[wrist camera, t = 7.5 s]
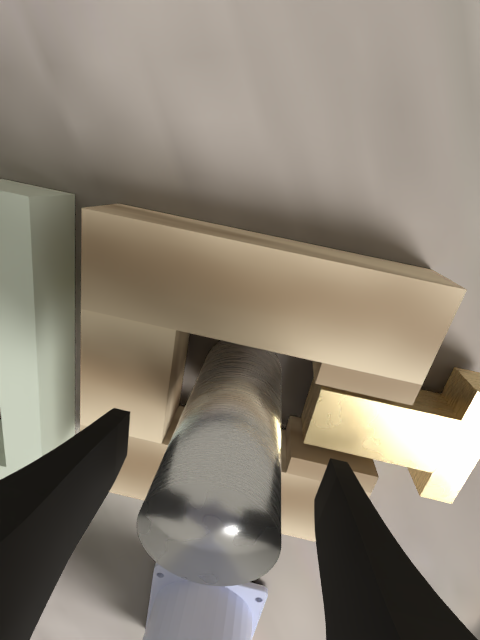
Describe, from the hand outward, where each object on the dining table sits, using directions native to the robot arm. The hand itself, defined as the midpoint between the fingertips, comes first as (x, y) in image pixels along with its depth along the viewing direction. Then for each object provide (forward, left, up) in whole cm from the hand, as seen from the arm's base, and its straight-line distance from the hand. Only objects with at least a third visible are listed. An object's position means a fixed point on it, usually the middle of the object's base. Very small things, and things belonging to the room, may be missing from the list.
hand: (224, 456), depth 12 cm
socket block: (0, 0, -6) cm, 6 cm away
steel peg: (0, 0, -6) cm, 6 cm away
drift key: (0, -7, -6) cm, 9 cm away
